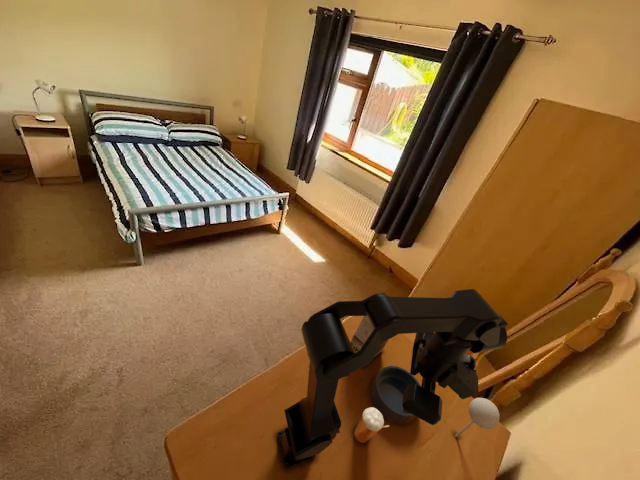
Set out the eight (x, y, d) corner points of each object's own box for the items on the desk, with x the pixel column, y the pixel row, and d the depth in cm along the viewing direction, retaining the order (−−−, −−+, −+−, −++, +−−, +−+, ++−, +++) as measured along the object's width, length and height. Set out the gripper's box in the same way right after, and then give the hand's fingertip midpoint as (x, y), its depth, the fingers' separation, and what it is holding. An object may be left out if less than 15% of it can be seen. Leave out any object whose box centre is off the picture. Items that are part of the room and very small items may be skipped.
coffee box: (362, 367, 82) (383, 330, 72) (345, 349, 85) (364, 312, 76) (382, 351, 87) (405, 315, 78) (366, 335, 91) (386, 298, 81)
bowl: (385, 431, 70) (392, 422, 67) (361, 381, 79) (367, 371, 76) (426, 416, 75) (434, 407, 73) (399, 370, 84) (406, 361, 81)
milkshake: (367, 454, 65) (384, 435, 60) (347, 435, 67) (361, 414, 62) (377, 437, 69) (394, 417, 63) (358, 419, 71) (372, 398, 65)
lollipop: (470, 454, 70) (509, 426, 62) (446, 445, 71) (481, 416, 62) (465, 426, 76) (501, 397, 67) (442, 418, 76) (475, 388, 67)
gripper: (492, 421, 46) (443, 459, 55) (486, 333, 61) (448, 375, 70) (422, 383, 48) (385, 426, 57) (433, 307, 63) (403, 351, 72)
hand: (409, 392), depth 64 cm, fingers open, 9 cm apart
